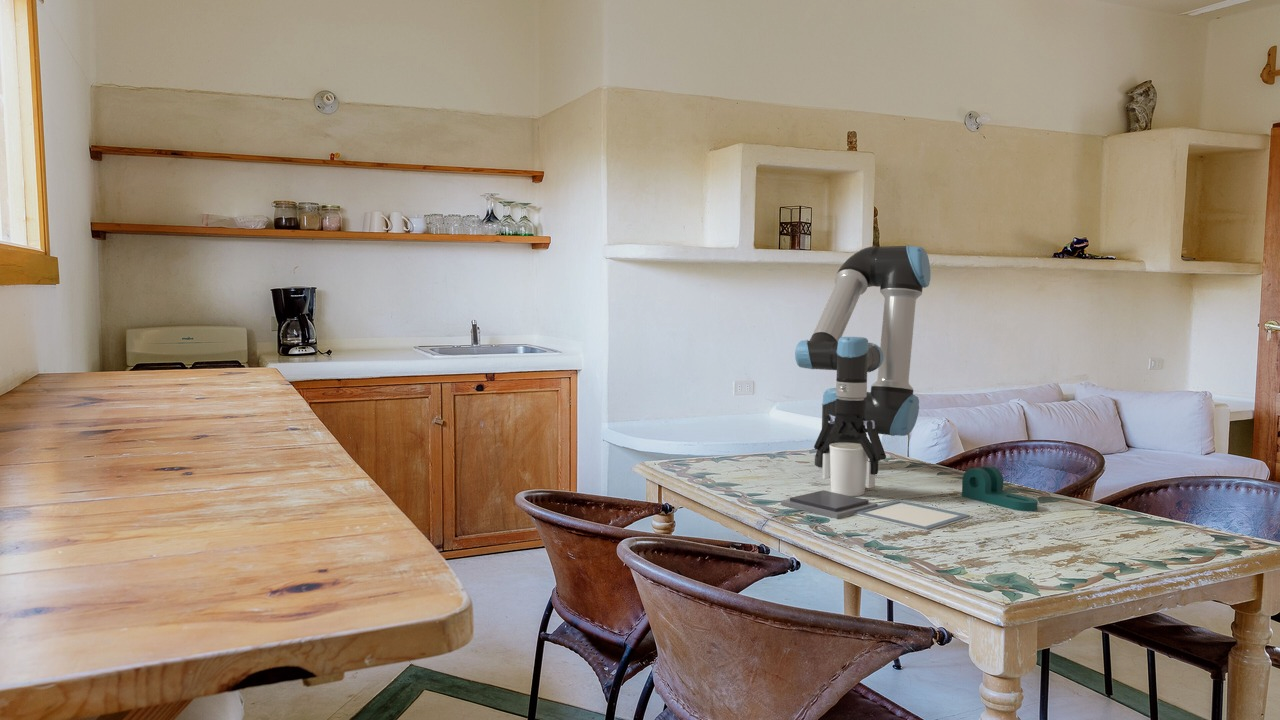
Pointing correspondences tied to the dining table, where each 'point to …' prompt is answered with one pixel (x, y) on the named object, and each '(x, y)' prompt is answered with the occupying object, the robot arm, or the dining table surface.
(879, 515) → the marked square
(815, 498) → the ink pad
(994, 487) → the bracket
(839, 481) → the candle holder
